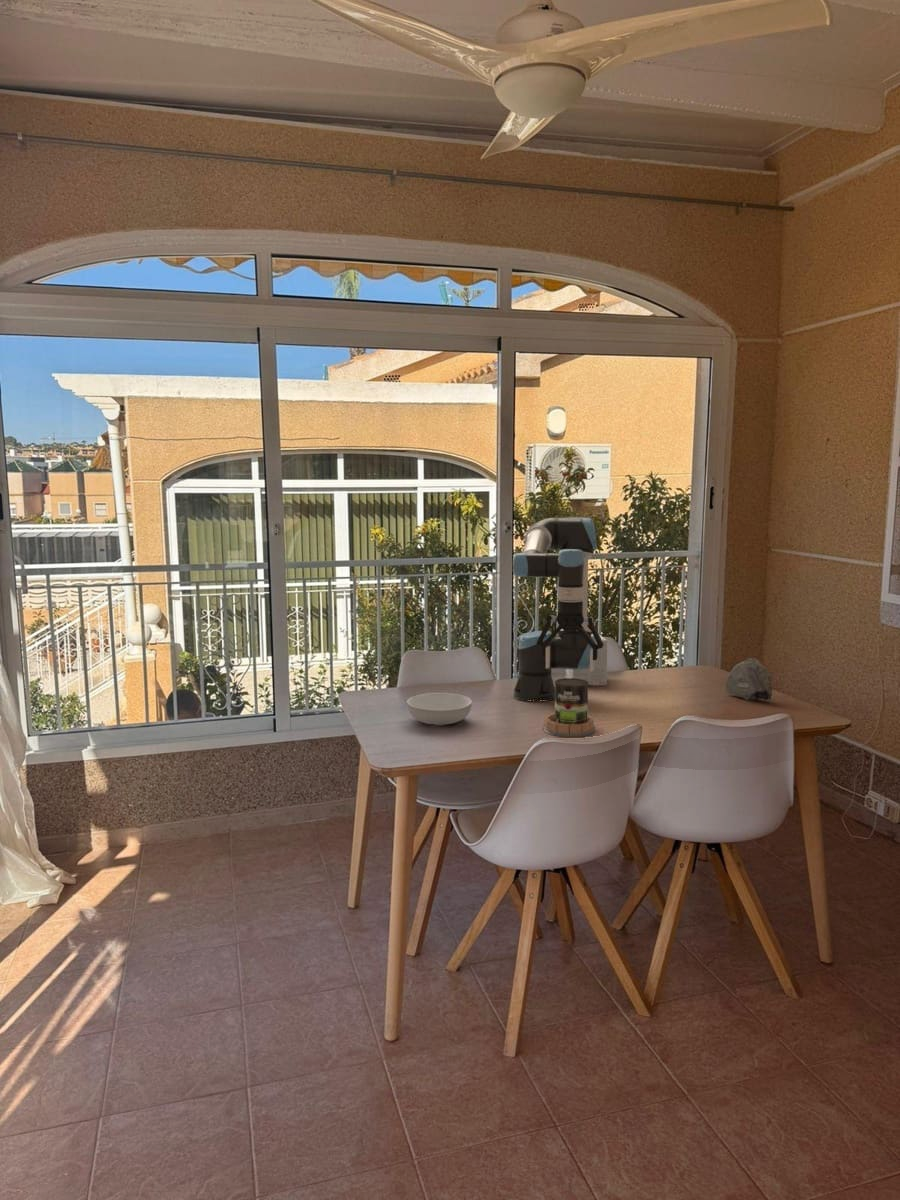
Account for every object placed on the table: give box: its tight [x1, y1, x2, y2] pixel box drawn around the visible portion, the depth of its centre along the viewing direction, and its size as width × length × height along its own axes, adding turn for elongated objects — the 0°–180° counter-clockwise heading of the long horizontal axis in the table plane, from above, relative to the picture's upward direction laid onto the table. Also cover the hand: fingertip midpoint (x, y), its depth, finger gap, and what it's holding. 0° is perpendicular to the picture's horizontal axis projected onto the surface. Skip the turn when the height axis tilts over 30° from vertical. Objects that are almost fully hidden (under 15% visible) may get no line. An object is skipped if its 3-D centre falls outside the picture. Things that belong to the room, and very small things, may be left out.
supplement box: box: [565, 633, 608, 686], centre depth 311 cm, size 13×13×18 cm
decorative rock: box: [724, 657, 773, 701], centre depth 284 cm, size 16×7×15 cm, turn 33°
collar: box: [542, 712, 596, 738], centre depth 252 cm, size 16×16×4 cm
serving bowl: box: [406, 692, 473, 726], centre depth 262 cm, size 21×21×7 cm
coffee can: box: [554, 677, 589, 724], centre depth 251 cm, size 10×10×14 cm
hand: (569, 669), depth 249 cm, fingers open, 13 cm apart
